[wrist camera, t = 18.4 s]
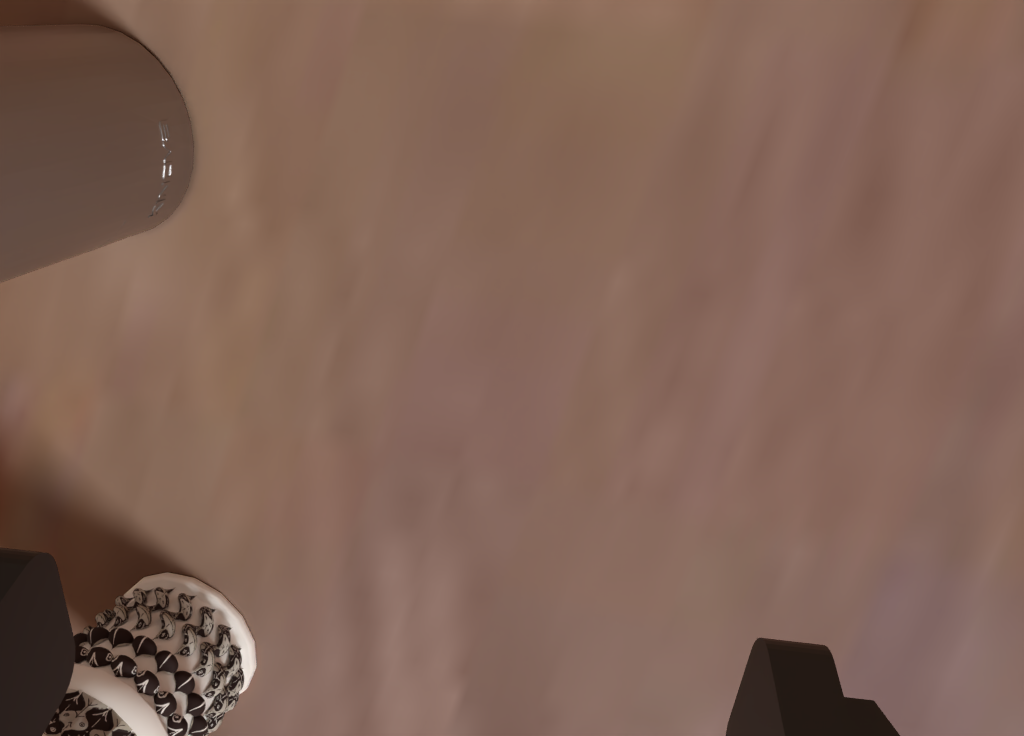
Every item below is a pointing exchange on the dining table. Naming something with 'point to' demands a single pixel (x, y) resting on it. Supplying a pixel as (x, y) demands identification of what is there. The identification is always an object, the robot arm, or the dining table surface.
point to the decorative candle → (158, 663)
